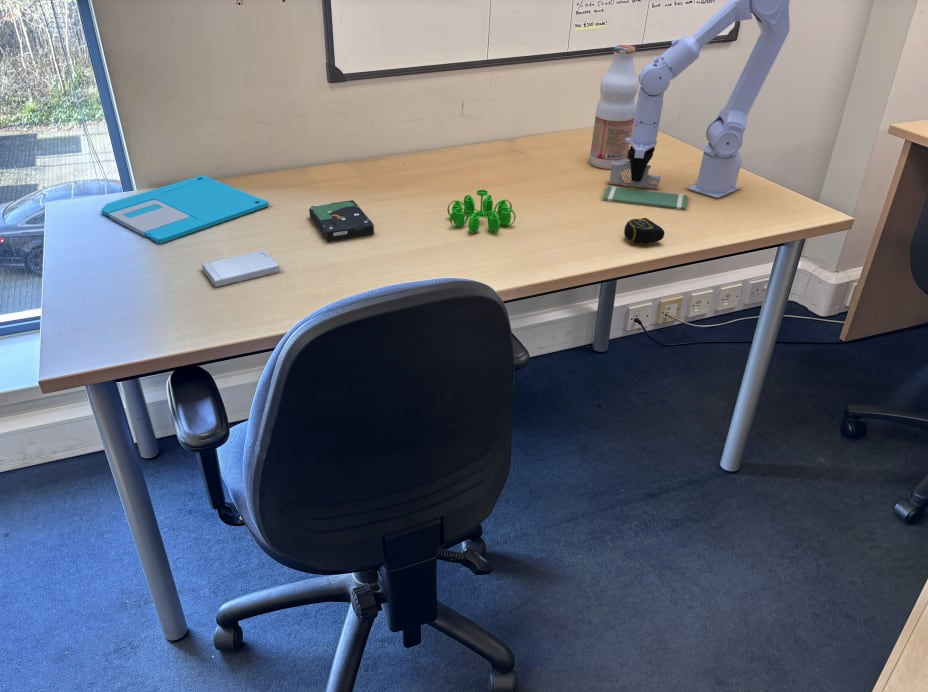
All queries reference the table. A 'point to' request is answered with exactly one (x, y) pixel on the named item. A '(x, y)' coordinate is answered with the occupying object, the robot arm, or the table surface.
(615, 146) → the fruit juice
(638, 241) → the tape measure
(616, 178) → the lattice window wall
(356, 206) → the disk drive
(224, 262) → the hard drive
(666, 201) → the towel
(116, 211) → the floppy disk
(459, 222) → the chandelier
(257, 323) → the table surface
